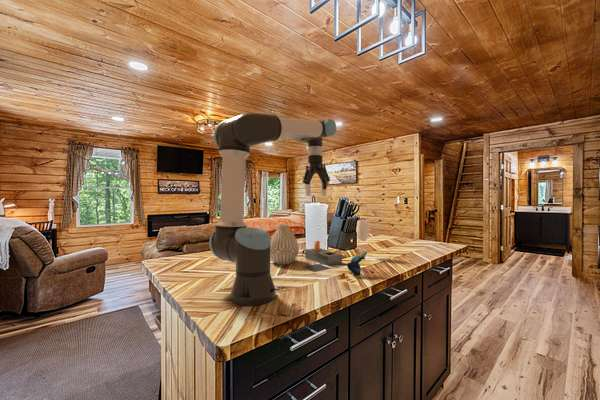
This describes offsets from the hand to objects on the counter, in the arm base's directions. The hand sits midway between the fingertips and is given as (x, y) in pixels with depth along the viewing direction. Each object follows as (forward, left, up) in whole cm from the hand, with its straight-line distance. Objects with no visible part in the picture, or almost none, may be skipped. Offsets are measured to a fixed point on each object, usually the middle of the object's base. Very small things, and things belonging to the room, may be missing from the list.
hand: (315, 196), depth 136 cm
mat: (-10, +7, -35) cm, 37 cm away
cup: (-6, -29, -35) cm, 46 cm away
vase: (+8, +15, -35) cm, 39 cm away
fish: (-28, -2, -35) cm, 45 cm away
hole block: (-1, -4, -35) cm, 35 cm away
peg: (+4, -4, -35) cm, 35 cm away
